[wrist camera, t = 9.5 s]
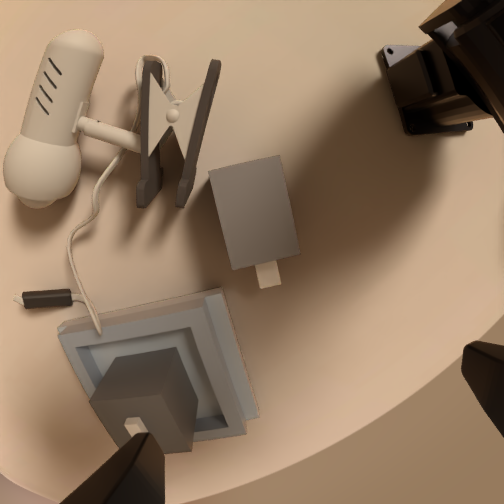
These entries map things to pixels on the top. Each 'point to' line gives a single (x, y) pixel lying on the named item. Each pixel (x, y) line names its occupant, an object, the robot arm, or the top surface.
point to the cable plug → (255, 216)
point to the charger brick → (148, 400)
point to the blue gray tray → (188, 345)
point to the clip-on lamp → (98, 137)
